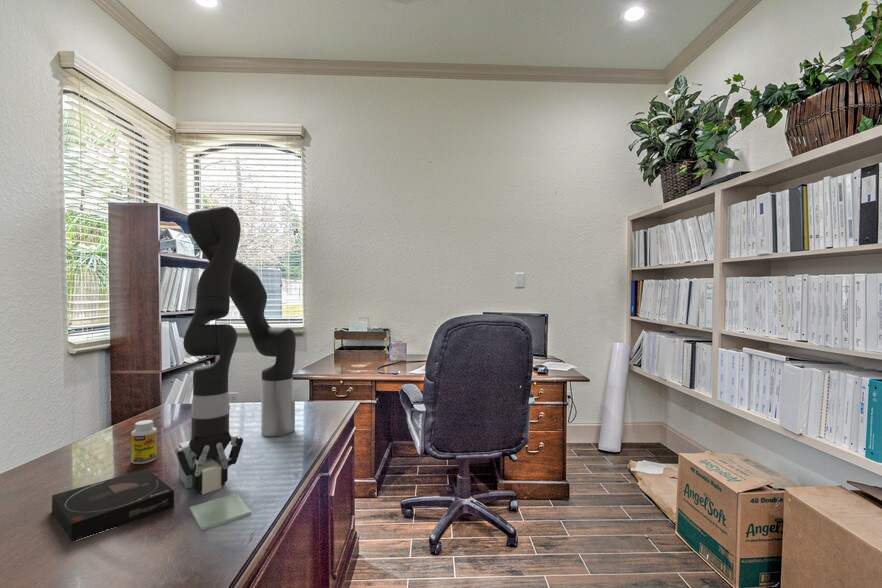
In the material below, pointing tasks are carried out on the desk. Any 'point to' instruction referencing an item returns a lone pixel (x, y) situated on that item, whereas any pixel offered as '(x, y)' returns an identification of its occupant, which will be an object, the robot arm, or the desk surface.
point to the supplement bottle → (143, 442)
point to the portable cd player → (111, 503)
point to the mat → (219, 511)
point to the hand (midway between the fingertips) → (210, 487)
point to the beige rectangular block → (210, 475)
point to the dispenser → (188, 479)
